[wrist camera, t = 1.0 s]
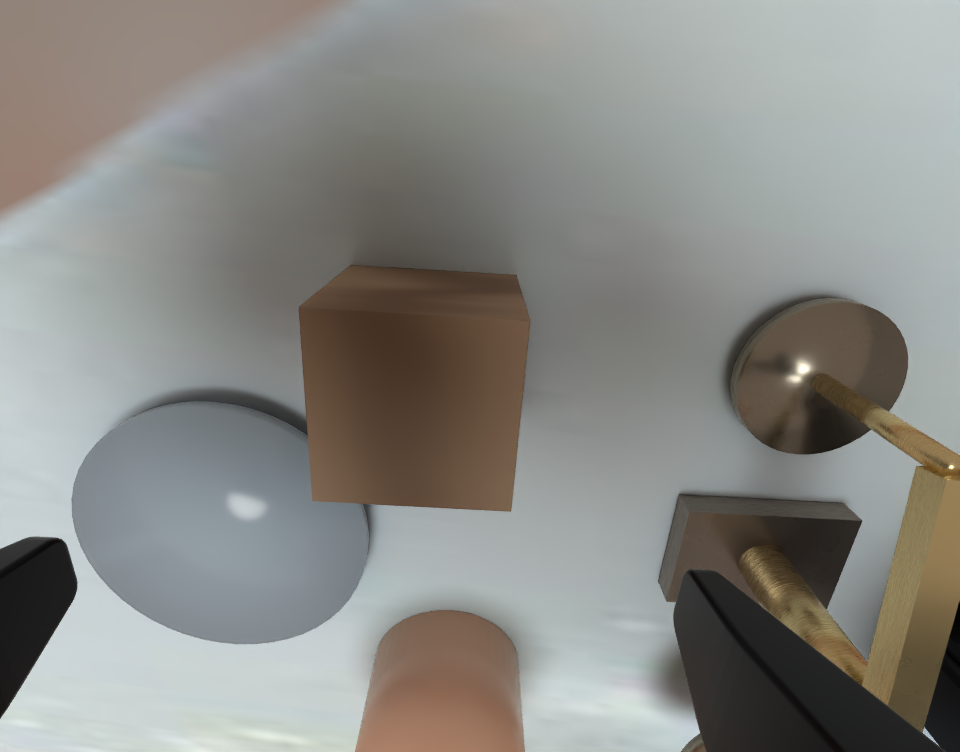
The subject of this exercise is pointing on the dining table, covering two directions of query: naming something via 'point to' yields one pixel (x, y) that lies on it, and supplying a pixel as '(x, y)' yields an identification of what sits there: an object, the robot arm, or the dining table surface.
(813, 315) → the balance
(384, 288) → the walnut block
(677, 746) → the dining table surface
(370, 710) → the terracotta lidded jar
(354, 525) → the disc
